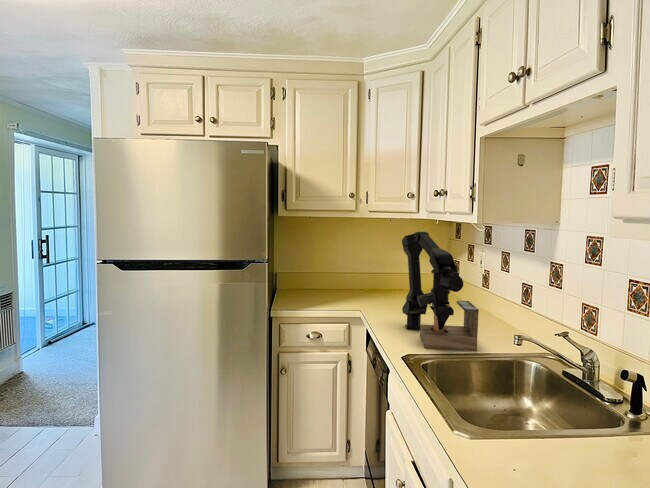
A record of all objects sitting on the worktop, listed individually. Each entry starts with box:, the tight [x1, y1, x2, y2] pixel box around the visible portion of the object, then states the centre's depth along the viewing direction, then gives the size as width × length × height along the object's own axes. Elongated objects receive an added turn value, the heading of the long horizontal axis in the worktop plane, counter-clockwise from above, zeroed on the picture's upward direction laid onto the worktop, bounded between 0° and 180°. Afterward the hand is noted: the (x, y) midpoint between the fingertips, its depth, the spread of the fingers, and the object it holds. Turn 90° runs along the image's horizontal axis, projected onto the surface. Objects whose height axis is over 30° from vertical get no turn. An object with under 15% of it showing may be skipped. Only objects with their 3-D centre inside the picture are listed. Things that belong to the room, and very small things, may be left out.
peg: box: [433, 313, 446, 332], centre depth 153 cm, size 4×4×8 cm
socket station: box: [419, 300, 479, 352], centre depth 153 cm, size 14×18×15 cm
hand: (439, 328), depth 153 cm, fingers closed on peg, 4 cm apart
